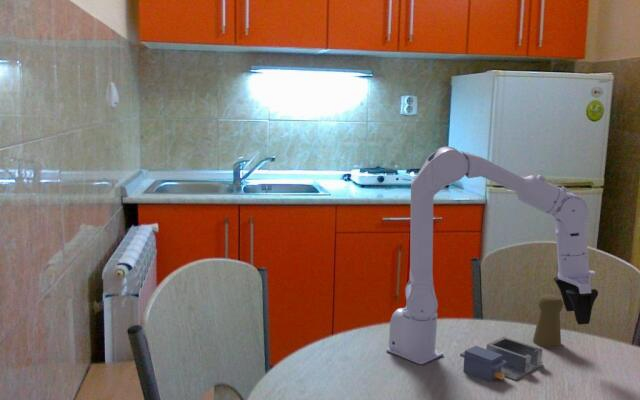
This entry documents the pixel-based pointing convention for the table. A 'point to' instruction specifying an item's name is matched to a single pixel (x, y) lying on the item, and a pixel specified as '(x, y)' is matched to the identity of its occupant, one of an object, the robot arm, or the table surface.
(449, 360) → the table surface
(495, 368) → the blue-grey long block
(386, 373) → the table surface
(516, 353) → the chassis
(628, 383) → the table surface
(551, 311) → the cork
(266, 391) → the table surface
